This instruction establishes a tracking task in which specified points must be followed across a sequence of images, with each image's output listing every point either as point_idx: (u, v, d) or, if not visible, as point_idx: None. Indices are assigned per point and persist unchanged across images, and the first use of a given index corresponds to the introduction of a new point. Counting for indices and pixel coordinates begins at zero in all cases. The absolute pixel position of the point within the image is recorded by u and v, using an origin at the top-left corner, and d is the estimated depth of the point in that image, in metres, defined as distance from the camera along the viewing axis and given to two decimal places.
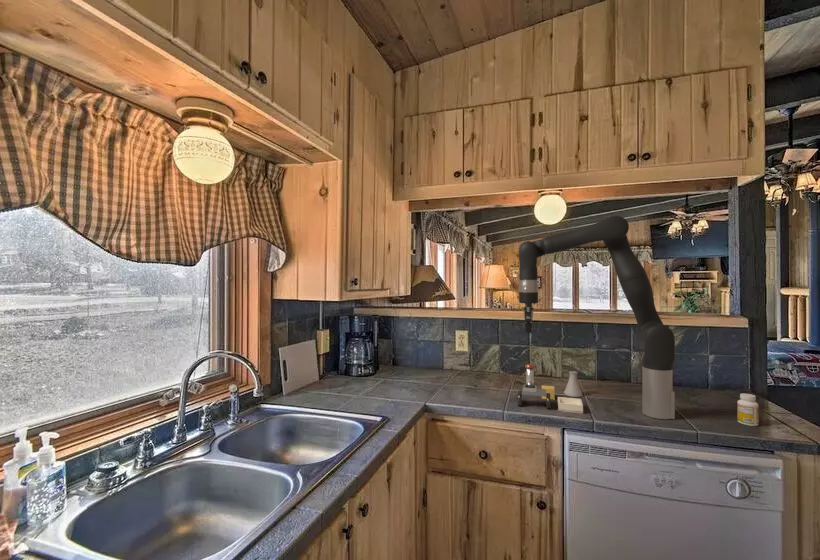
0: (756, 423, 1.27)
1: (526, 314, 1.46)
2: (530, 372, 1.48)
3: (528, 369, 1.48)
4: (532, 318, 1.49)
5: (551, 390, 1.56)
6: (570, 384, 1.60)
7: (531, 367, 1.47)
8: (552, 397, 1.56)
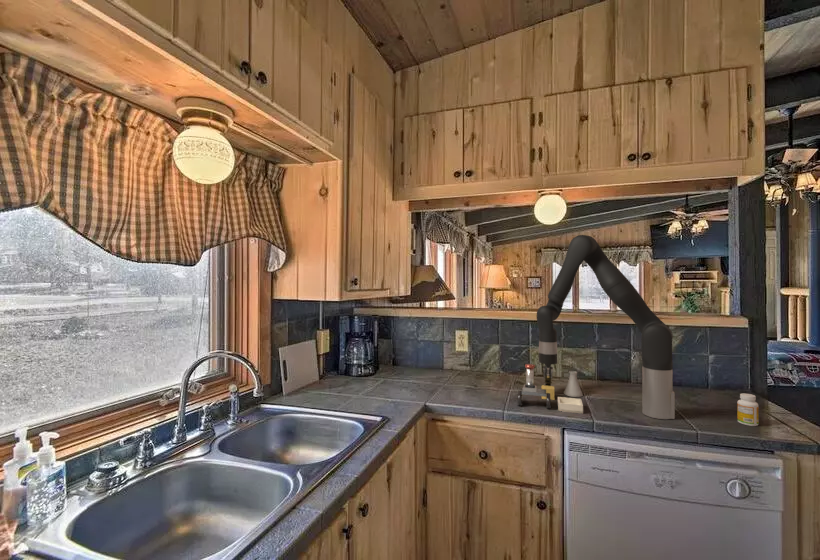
0: (756, 423, 1.27)
1: (546, 379, 1.58)
2: (530, 372, 1.48)
3: (528, 369, 1.48)
4: (551, 378, 1.62)
5: (551, 390, 1.56)
6: (570, 384, 1.60)
7: (531, 367, 1.47)
8: (552, 397, 1.55)
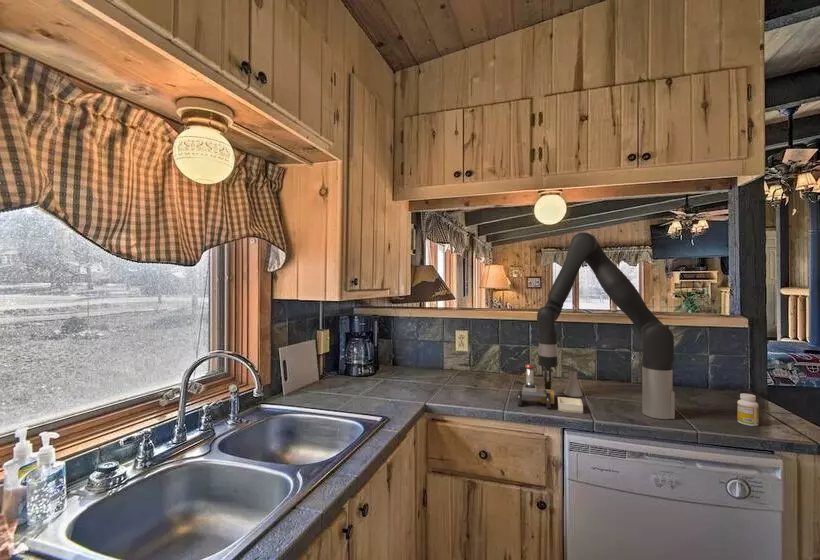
0: (756, 423, 1.27)
1: (546, 383, 1.53)
2: (530, 372, 1.48)
3: (528, 369, 1.48)
4: (551, 381, 1.56)
5: (551, 394, 1.50)
6: (570, 384, 1.60)
7: (531, 367, 1.47)
8: (552, 401, 1.50)
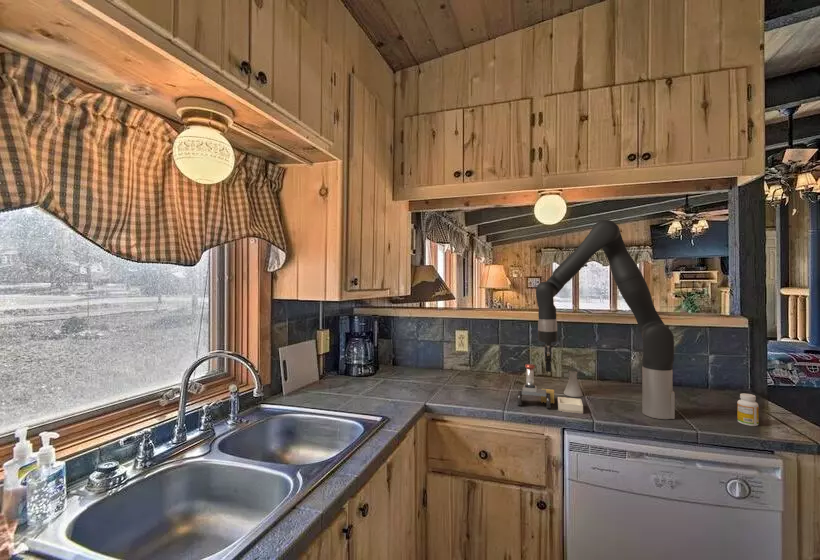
0: (756, 423, 1.27)
1: (546, 357, 1.53)
2: (530, 372, 1.48)
3: (528, 369, 1.48)
4: (552, 356, 1.57)
5: (551, 394, 1.51)
6: (570, 384, 1.60)
7: (531, 367, 1.47)
8: (552, 401, 1.51)
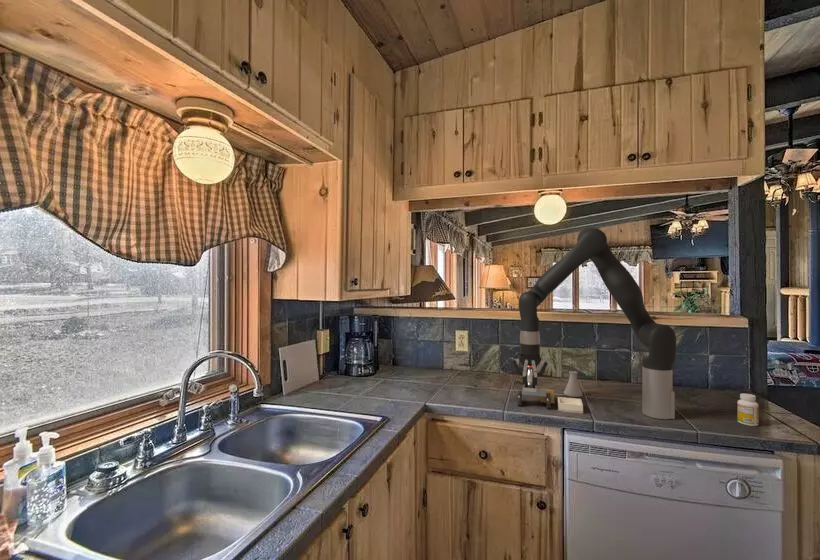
0: (756, 423, 1.27)
1: None
2: (530, 372, 1.48)
3: (528, 369, 1.48)
4: (526, 370, 1.48)
5: (551, 394, 1.51)
6: (570, 384, 1.60)
7: (531, 367, 1.47)
8: (552, 401, 1.51)
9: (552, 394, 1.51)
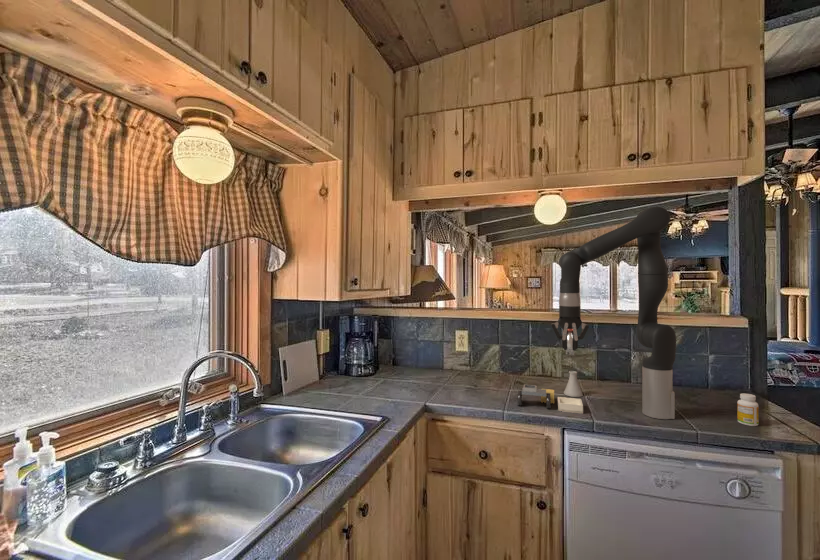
0: (756, 423, 1.27)
1: None
2: (570, 335, 1.43)
3: (568, 332, 1.43)
4: None
5: (551, 394, 1.51)
6: (570, 384, 1.60)
7: (571, 330, 1.43)
8: (552, 401, 1.51)
9: (552, 394, 1.51)
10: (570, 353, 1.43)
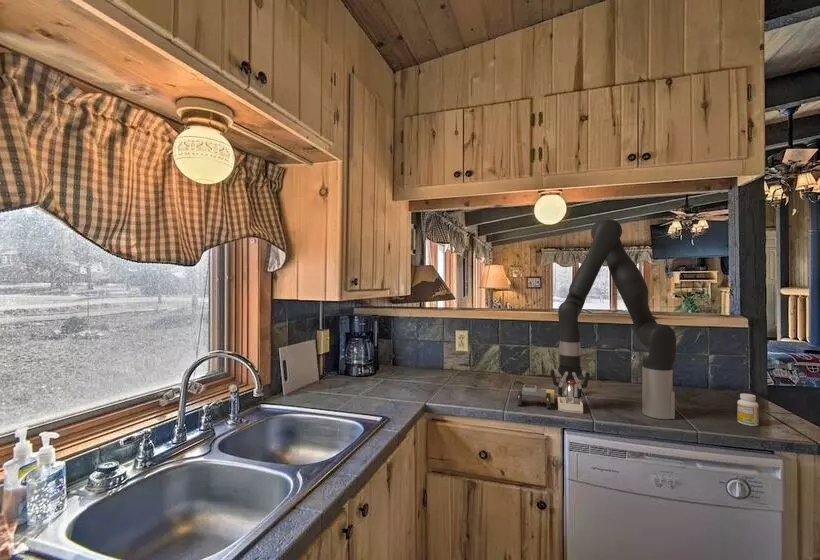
0: (756, 423, 1.27)
1: None
2: (571, 388, 1.43)
3: (569, 384, 1.44)
4: (563, 382, 1.44)
5: (551, 394, 1.51)
6: None
7: (573, 383, 1.43)
8: (552, 401, 1.51)
9: (552, 394, 1.51)
10: None
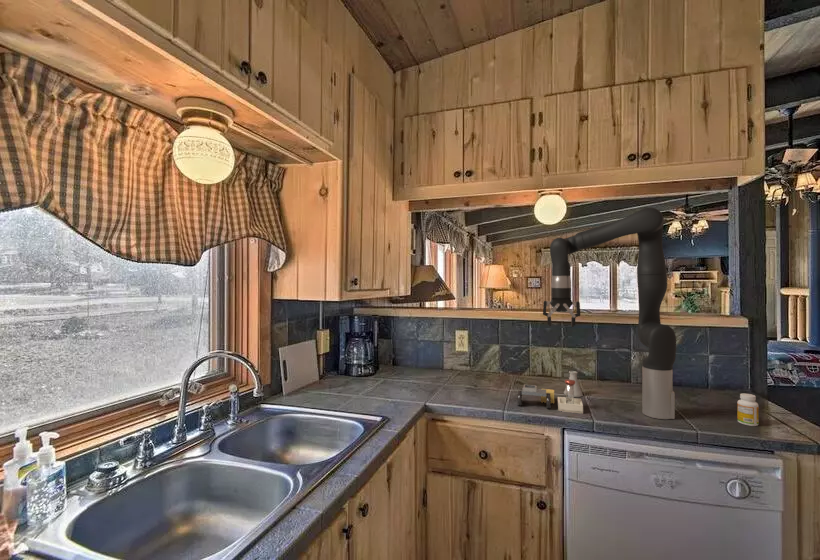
0: (756, 423, 1.27)
1: None
2: (570, 388, 1.43)
3: (568, 385, 1.43)
4: (553, 312, 1.55)
5: (551, 394, 1.51)
6: None
7: (572, 383, 1.43)
8: (552, 401, 1.51)
9: (552, 394, 1.51)
10: None
